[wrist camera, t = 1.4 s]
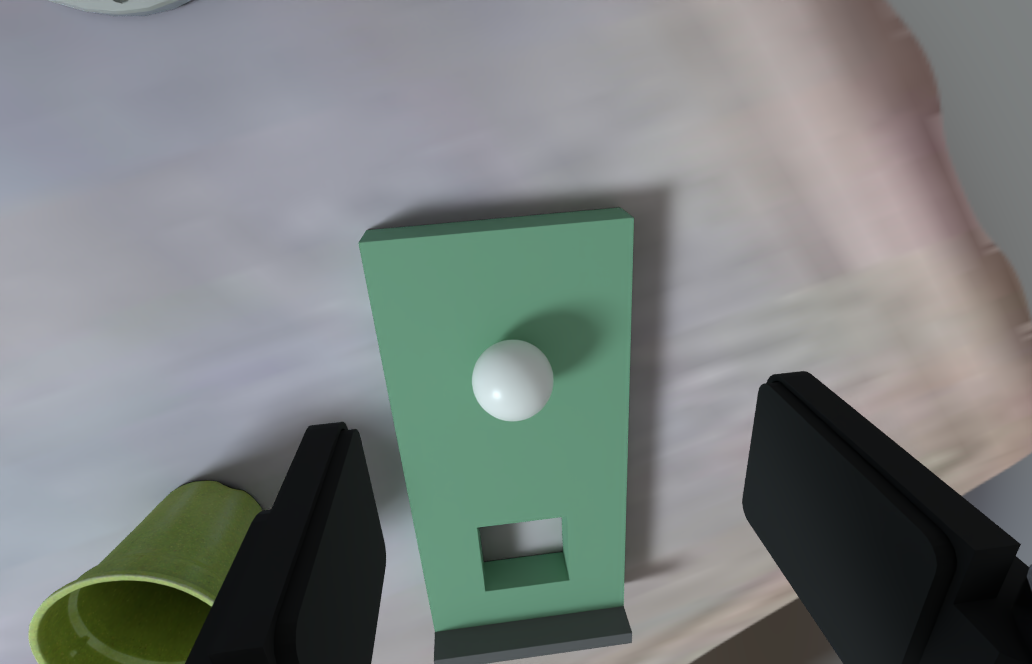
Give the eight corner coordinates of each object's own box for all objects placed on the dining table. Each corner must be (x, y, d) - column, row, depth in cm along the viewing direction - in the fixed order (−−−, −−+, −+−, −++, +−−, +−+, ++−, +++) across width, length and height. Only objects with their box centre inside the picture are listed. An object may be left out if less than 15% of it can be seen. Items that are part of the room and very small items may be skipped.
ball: (467, 330, 27) (468, 368, 23) (545, 322, 27) (558, 358, 24) (474, 397, 29) (477, 442, 25) (548, 389, 29) (561, 432, 25)
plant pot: (98, 483, 31) (-22, 615, 24) (247, 436, 31) (176, 553, 23) (185, 587, 35) (108, 729, 28) (319, 546, 35) (278, 678, 27)
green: (366, 230, 27) (350, 255, 23) (619, 207, 28) (647, 227, 24) (438, 610, 39) (435, 670, 35) (614, 586, 39) (631, 642, 36)
